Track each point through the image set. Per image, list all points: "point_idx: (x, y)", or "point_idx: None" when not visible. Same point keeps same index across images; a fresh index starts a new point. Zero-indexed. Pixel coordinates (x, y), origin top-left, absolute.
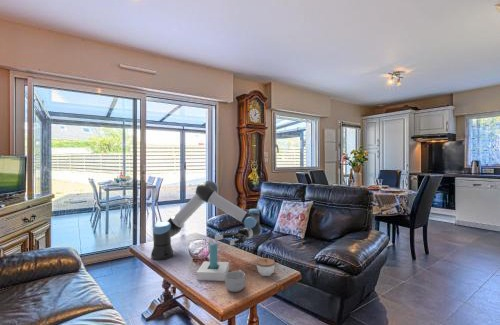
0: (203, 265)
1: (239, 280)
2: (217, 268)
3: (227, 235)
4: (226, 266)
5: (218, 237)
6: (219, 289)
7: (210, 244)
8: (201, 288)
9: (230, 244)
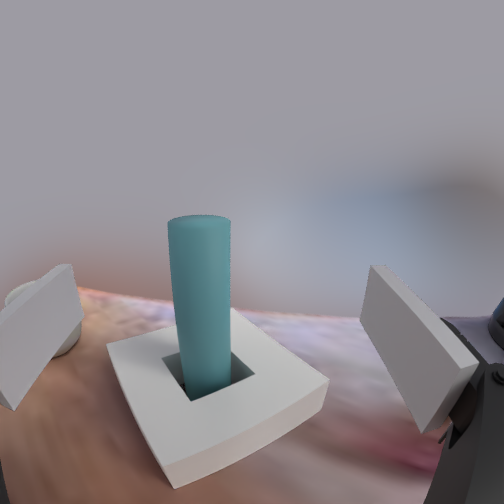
0: (272, 351)
1: (24, 290)
2: (186, 384)
3: (450, 497)
4: (133, 400)
5: (390, 315)
6: (105, 329)
7: (216, 217)
8: (168, 314)
9: (73, 302)
